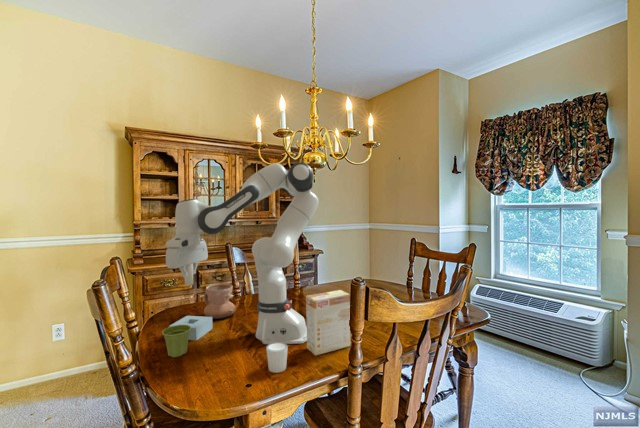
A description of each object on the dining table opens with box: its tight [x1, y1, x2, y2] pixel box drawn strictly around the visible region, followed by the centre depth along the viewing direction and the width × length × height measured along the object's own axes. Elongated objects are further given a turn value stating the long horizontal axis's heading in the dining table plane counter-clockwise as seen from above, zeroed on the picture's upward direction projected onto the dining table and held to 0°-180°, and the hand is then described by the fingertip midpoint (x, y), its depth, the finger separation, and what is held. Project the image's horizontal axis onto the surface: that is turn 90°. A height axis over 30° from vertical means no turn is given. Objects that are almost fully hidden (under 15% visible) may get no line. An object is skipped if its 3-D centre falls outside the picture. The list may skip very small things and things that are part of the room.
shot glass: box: [266, 342, 289, 374], centre depth 101 cm, size 7×7×7 cm
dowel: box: [184, 264, 194, 287], centre depth 123 cm, size 3×3×10 cm
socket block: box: [168, 315, 214, 341], centre depth 129 cm, size 12×12×5 cm
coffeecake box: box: [305, 289, 352, 356], centre depth 115 cm, size 15×7×20 cm, turn 118°
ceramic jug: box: [203, 283, 237, 320], centre depth 150 cm, size 18×14×14 cm
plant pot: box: [161, 325, 191, 358], centre depth 112 cm, size 9×9×9 cm
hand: (189, 275), depth 123 cm, fingers closed on dowel, 3 cm apart
